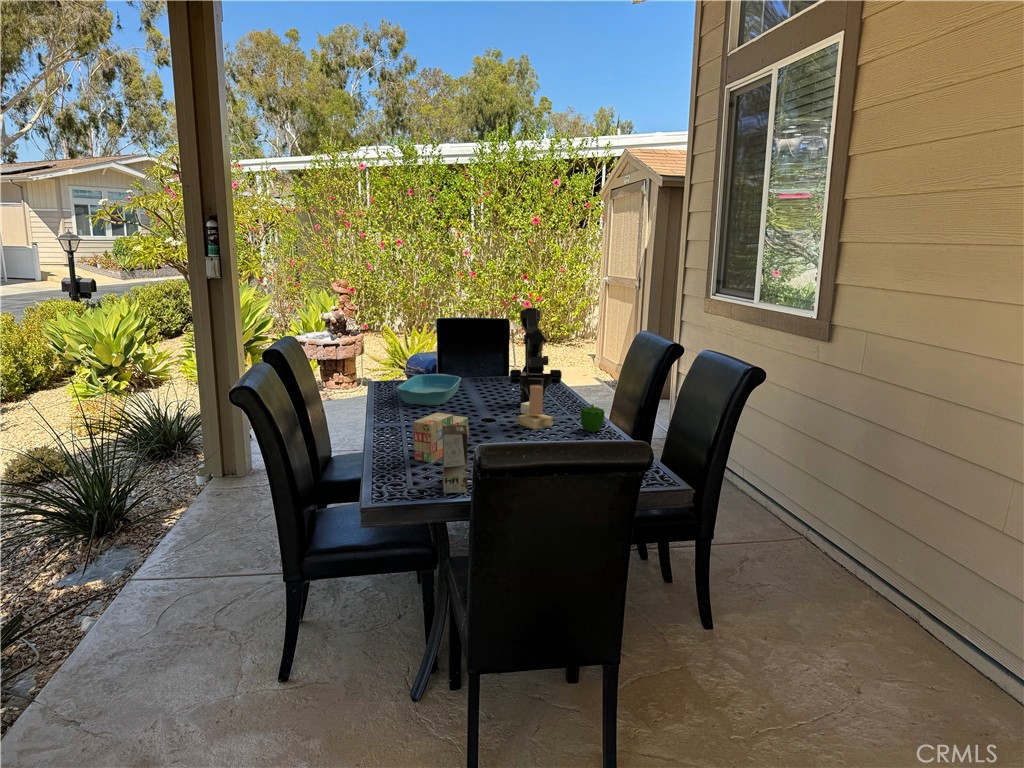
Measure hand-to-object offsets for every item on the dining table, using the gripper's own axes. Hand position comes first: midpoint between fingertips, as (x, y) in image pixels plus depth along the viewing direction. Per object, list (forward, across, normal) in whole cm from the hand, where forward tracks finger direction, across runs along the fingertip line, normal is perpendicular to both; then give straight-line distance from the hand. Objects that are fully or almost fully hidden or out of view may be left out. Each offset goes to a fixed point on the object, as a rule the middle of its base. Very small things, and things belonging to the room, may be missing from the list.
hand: (536, 396), depth 234 cm
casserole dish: (-23, -41, +40) cm, 62 cm away
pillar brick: (+4, 0, +6) cm, 7 cm away
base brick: (+7, 0, +9) cm, 11 cm away
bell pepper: (+12, +19, +4) cm, 23 cm away
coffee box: (+51, -26, -36) cm, 68 cm away
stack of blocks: (+30, -32, -14) cm, 46 cm away
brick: (-5, -1, +21) cm, 21 cm away
